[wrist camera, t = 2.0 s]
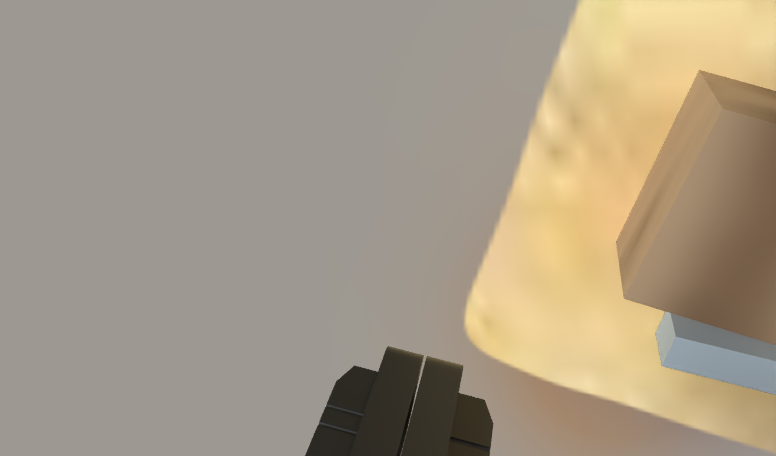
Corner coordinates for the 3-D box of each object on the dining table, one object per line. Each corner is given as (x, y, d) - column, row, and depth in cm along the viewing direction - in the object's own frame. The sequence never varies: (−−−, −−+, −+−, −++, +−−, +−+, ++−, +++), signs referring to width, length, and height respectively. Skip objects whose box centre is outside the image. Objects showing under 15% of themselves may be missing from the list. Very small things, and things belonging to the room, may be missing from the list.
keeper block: (881, 118, 21) (941, 169, 18) (770, 285, 25) (802, 353, 22) (698, 68, 22) (722, 108, 18) (615, 239, 25) (623, 298, 22)
